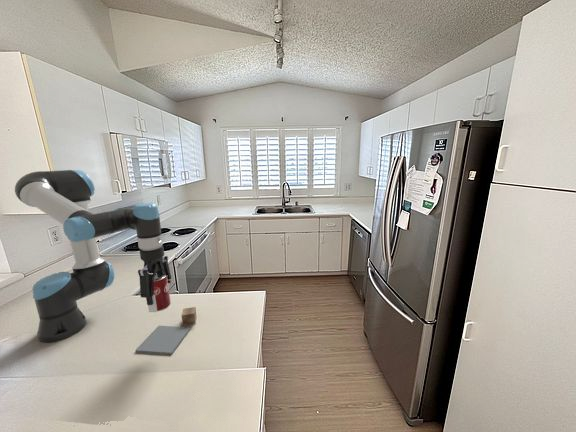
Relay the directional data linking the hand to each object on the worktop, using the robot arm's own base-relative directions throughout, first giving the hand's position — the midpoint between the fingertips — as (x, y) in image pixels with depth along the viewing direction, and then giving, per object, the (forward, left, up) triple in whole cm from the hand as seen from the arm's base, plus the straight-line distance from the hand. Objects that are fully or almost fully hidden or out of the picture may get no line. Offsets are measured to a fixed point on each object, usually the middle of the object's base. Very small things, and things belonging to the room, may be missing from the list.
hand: (159, 305), depth 94 cm
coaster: (0, 0, -15) cm, 15 cm away
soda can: (0, 0, -1) cm, 1 cm away
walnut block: (+4, +12, -15) cm, 20 cm away
